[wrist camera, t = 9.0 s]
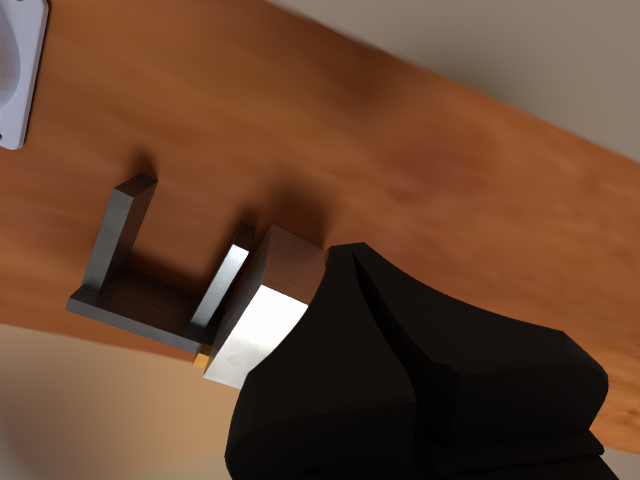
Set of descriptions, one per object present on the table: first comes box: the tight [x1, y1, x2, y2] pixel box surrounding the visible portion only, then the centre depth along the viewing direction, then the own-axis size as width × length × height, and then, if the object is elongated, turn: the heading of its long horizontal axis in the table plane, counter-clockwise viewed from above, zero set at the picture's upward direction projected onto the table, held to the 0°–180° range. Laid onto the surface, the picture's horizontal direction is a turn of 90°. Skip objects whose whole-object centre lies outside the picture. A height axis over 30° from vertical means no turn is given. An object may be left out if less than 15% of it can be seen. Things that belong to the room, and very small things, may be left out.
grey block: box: [203, 224, 326, 389], centre depth 18 cm, size 4×7×7 cm, turn 148°
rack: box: [65, 173, 327, 369], centre depth 20 cm, size 20×8×5 cm, turn 58°
